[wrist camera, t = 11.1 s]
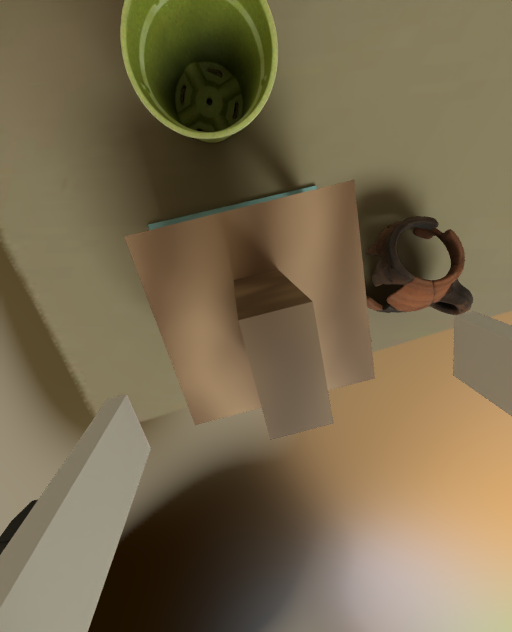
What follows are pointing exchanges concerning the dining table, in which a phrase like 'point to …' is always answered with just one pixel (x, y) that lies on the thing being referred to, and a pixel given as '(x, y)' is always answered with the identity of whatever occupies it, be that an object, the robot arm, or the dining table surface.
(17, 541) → the robot arm
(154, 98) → the plant pot
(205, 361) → the brown piece
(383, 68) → the dining table surface
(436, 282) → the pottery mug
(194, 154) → the dining table surface
